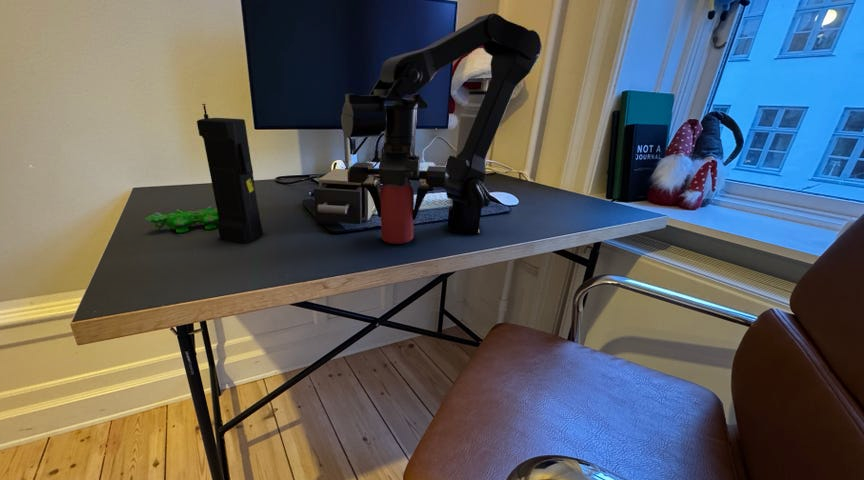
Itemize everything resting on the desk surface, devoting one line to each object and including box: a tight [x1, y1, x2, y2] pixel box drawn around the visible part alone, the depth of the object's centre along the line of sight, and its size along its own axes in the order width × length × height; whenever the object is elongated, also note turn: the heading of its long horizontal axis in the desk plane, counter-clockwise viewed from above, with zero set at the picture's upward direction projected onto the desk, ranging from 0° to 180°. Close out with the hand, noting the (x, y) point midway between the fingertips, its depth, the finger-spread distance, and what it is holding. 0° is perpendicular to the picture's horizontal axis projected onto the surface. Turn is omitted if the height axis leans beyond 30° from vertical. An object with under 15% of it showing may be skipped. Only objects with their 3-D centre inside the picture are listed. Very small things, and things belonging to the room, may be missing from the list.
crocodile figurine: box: [144, 205, 219, 234], centre depth 79 cm, size 7×18×4 cm, turn 115°
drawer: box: [313, 183, 365, 225], centre depth 84 cm, size 16×10×7 cm, turn 170°
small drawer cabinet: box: [318, 168, 376, 222], centre depth 91 cm, size 13×12×9 cm
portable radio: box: [196, 103, 264, 244], centre depth 70 cm, size 8×6×25 cm
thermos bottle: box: [455, 89, 489, 167], centre depth 95 cm, size 8×8×28 cm
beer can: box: [380, 180, 415, 245], centre depth 73 cm, size 7×7×12 cm
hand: (397, 217), depth 74 cm, fingers closed on beer can, 6 cm apart
